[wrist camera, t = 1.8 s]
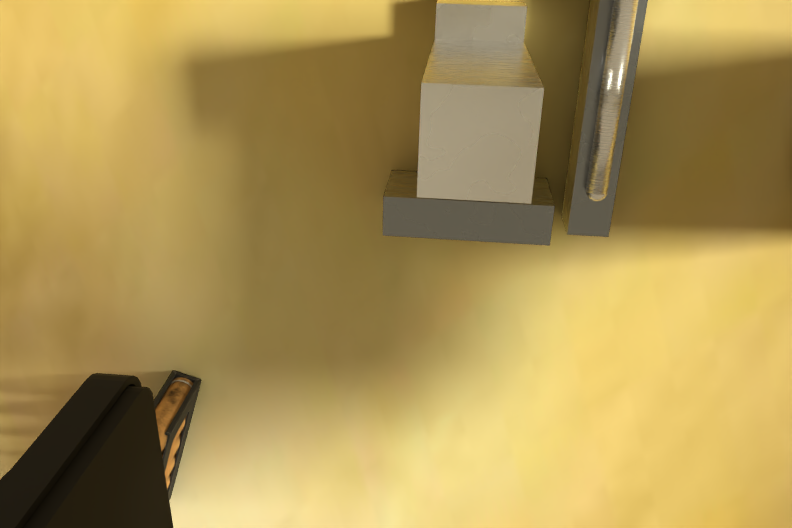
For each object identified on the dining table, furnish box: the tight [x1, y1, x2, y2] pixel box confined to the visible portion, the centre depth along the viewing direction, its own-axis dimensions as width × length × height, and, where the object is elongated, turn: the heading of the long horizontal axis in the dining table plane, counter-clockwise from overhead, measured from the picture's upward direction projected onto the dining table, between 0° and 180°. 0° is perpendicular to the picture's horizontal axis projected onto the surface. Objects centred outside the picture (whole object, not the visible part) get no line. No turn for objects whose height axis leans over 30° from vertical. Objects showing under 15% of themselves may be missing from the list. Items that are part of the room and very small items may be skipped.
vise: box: [383, 0, 648, 245], centre depth 33 cm, size 11×14×4 cm
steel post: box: [417, 0, 544, 204], centre depth 30 cm, size 4×7×12 cm, turn 179°
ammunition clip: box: [154, 371, 201, 500], centre depth 41 cm, size 11×2×12 cm, turn 161°
